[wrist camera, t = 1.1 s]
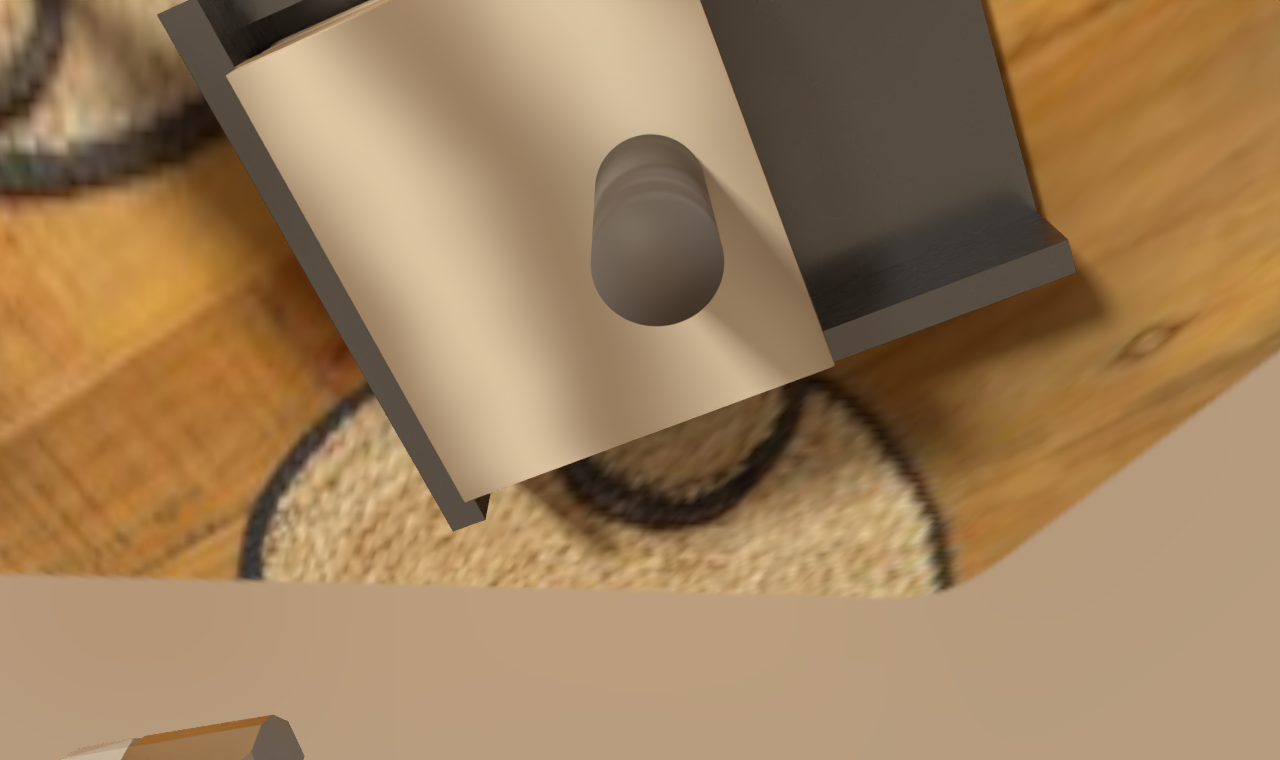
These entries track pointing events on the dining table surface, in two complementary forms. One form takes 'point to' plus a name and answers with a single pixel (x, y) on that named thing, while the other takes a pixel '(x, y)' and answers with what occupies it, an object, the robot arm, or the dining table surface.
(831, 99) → the bay
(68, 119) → the dining table surface
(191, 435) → the dining table surface
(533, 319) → the beige knobbed block
